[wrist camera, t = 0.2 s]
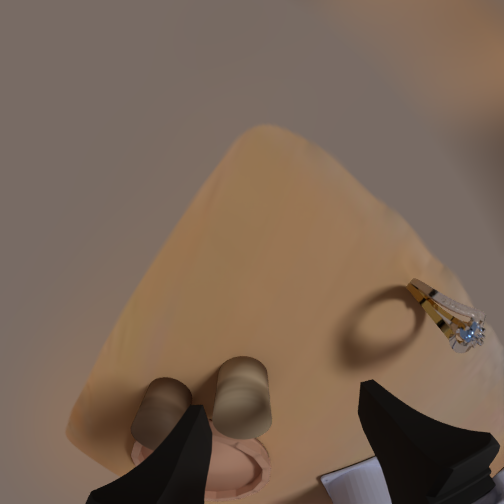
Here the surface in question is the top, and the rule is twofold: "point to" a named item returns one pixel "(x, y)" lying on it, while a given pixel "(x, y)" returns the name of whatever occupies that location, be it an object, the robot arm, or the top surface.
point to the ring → (450, 316)
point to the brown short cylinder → (160, 411)
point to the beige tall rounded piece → (242, 399)
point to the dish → (228, 466)
